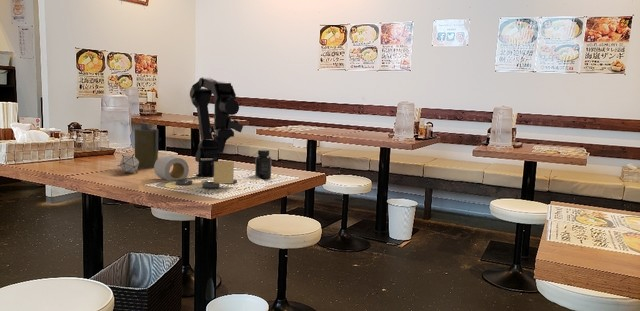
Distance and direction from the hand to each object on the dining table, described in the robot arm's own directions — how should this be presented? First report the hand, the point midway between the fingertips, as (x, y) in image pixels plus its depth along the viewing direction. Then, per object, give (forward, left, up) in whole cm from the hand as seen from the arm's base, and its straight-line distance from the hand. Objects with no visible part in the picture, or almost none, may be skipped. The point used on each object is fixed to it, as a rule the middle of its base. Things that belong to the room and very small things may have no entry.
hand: (221, 152), depth 195 cm
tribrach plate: (+1, -11, -12) cm, 16 cm away
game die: (-42, -5, -12) cm, 44 cm away
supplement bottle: (+9, +19, -12) cm, 24 cm away
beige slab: (+9, -15, -10) cm, 20 cm away
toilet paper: (-17, -9, -12) cm, 23 cm away
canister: (-48, +12, -12) cm, 51 cm away
